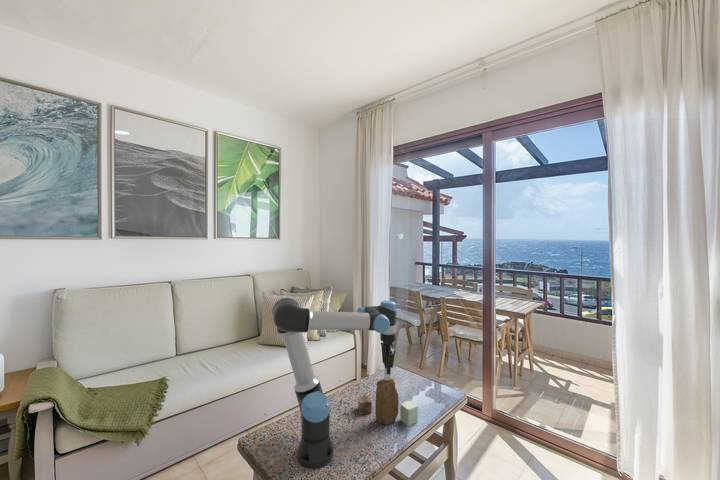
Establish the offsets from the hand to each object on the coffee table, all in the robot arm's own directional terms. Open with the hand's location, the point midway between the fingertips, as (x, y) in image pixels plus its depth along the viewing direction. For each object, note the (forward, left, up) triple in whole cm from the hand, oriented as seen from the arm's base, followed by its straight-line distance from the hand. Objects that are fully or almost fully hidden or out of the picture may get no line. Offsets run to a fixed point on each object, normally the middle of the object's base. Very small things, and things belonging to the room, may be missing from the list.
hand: (387, 379), depth 150 cm
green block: (+10, -4, -20) cm, 23 cm away
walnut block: (-8, +11, -20) cm, 24 cm away
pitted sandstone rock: (0, 0, -21) cm, 21 cm away
